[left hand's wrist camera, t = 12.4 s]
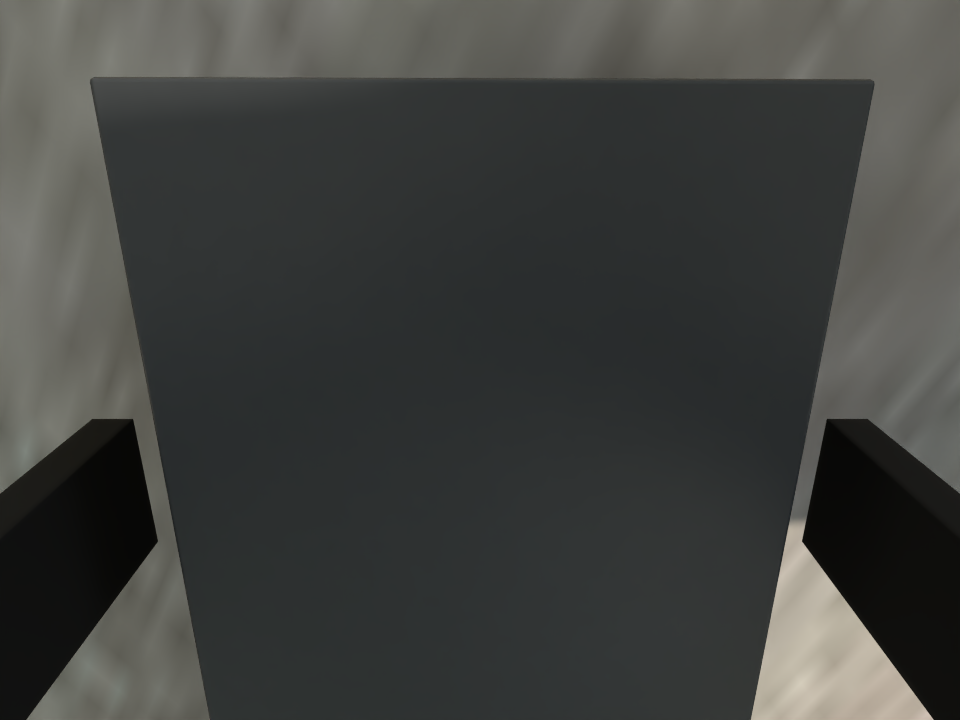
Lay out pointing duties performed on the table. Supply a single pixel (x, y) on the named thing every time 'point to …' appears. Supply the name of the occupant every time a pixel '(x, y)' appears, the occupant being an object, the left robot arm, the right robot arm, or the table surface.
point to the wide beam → (481, 379)
